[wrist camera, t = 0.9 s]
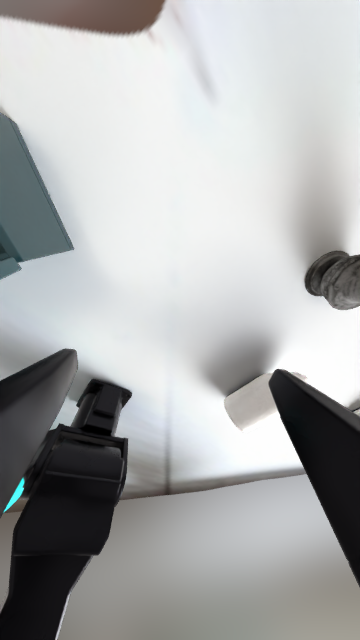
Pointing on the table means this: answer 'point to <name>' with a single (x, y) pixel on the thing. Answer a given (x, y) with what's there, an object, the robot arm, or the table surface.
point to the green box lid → (8, 267)
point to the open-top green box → (25, 203)
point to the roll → (253, 403)
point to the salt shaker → (336, 279)
